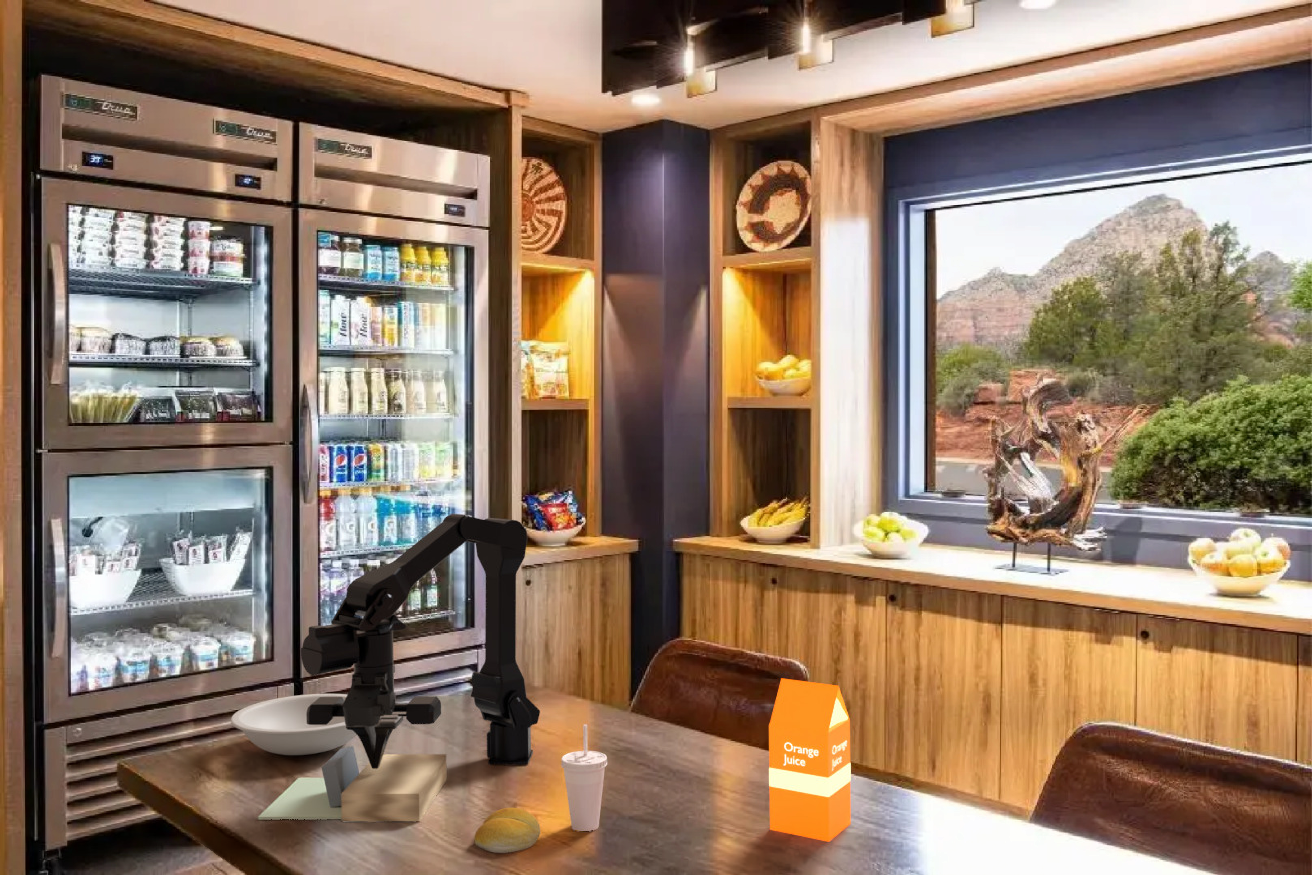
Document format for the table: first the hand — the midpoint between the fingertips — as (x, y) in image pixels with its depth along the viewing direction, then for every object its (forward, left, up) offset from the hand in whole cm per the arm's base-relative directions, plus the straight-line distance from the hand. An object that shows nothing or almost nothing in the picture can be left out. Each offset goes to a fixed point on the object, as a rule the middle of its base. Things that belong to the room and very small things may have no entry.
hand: (375, 767), depth 170 cm
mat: (+9, -1, -5) cm, 10 cm away
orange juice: (-63, +11, -5) cm, 64 cm away
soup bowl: (+19, -25, -5) cm, 32 cm away
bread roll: (-22, +16, -5) cm, 28 cm away
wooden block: (-3, 0, -5) cm, 6 cm away
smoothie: (-32, +11, -5) cm, 34 cm away
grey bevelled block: (+4, 0, -1) cm, 4 cm away
